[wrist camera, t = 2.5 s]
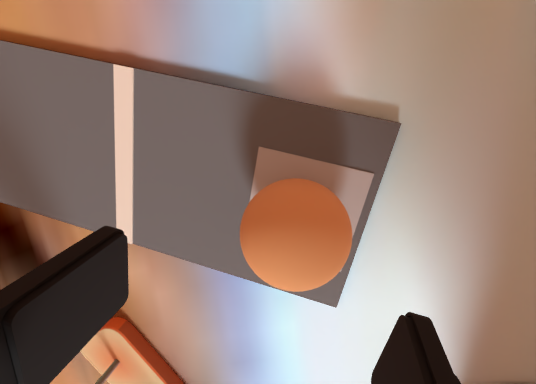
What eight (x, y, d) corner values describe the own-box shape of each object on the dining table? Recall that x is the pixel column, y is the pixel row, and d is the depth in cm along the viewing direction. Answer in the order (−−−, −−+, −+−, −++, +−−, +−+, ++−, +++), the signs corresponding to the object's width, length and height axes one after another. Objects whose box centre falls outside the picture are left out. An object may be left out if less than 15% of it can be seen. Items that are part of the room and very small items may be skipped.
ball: (362, 179, 17) (374, 223, 11) (335, 263, 19) (333, 334, 13) (265, 156, 18) (231, 185, 12) (250, 238, 20) (215, 295, 14)
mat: (398, 122, 16) (401, 123, 15) (336, 301, 21) (336, 308, 20) (-29, 34, 20) (-41, 32, 20) (1, 197, 25) (-8, 200, 25)
